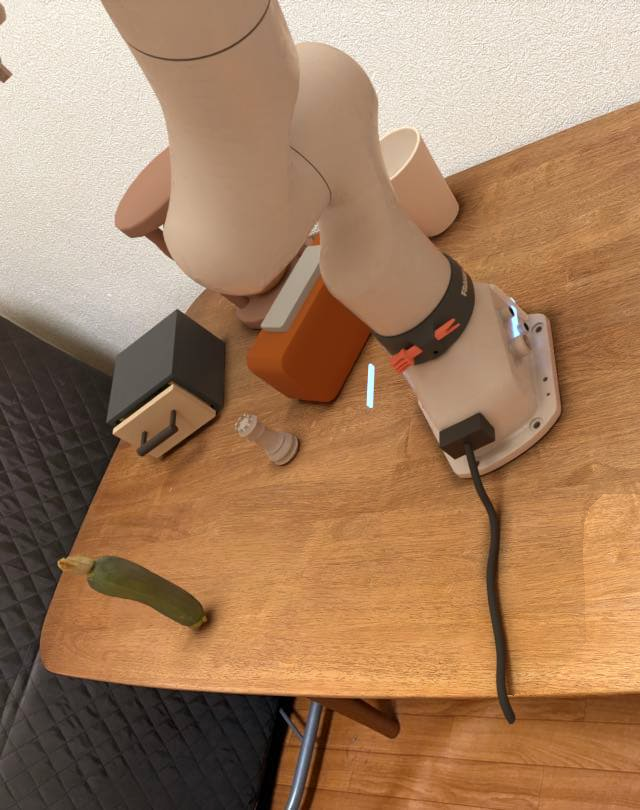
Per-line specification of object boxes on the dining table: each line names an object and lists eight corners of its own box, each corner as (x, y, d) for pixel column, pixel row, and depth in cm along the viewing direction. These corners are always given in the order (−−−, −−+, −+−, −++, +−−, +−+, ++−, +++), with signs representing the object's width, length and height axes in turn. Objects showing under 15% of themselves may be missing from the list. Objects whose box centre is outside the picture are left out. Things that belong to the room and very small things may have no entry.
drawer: (215, 437, 123) (170, 410, 117) (154, 480, 126) (109, 456, 120) (217, 354, 136) (178, 326, 131) (162, 395, 139) (122, 369, 133)
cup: (446, 252, 117) (388, 191, 108) (394, 248, 125) (337, 192, 116) (486, 186, 120) (433, 122, 112) (434, 187, 128) (381, 127, 120)
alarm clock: (370, 266, 126) (317, 216, 118) (408, 264, 121) (354, 211, 113) (295, 404, 117) (232, 360, 110) (331, 408, 112) (268, 362, 104)
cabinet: (223, 407, 128) (171, 373, 121) (159, 453, 131) (105, 422, 124) (224, 342, 139) (177, 308, 132) (166, 386, 142) (116, 355, 135)
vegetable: (199, 604, 105) (52, 541, 92) (224, 594, 104) (78, 528, 90) (192, 637, 103) (40, 578, 89) (217, 628, 101) (66, 565, 87)
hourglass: (241, 348, 134) (104, 249, 117) (246, 281, 146) (122, 182, 129) (325, 291, 129) (194, 179, 112) (323, 226, 141) (205, 115, 124)
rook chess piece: (278, 472, 111) (231, 444, 106) (273, 452, 114) (227, 423, 109) (303, 451, 111) (257, 421, 105) (297, 431, 114) (252, 400, 108)
